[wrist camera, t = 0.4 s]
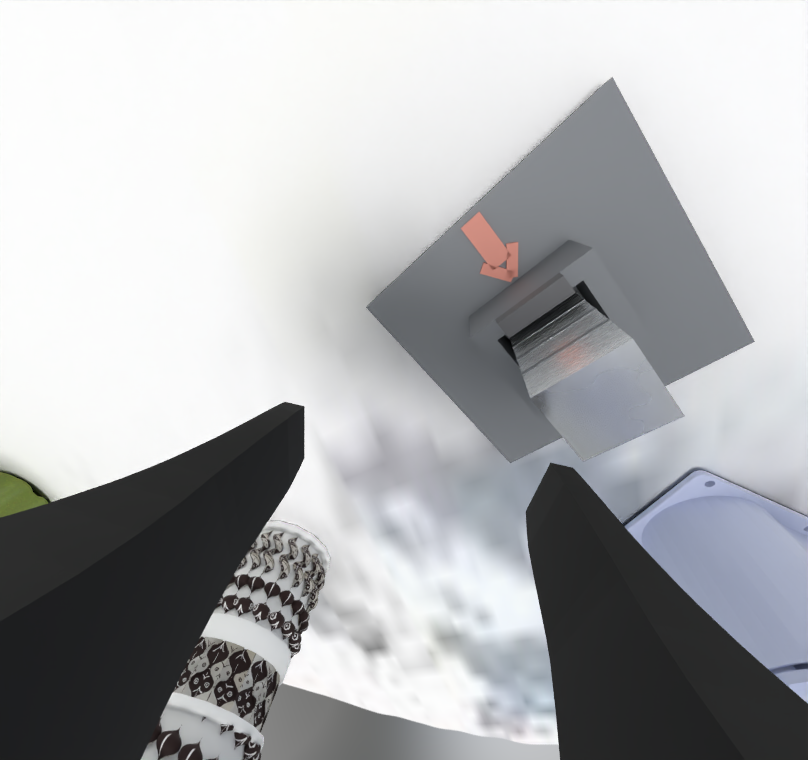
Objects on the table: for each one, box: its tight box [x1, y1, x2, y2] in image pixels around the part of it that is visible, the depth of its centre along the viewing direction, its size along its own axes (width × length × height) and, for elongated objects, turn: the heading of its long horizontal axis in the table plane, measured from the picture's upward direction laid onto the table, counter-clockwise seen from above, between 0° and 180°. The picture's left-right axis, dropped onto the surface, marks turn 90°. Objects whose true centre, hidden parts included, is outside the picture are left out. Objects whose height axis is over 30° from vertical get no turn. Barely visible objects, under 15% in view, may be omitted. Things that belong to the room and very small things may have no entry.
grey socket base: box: [366, 77, 755, 463], centre depth 15 cm, size 13×13×5 cm
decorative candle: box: [141, 521, 330, 760], centre depth 20 cm, size 9×9×25 cm
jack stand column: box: [510, 293, 684, 462], centre depth 13 cm, size 3×3×7 cm
